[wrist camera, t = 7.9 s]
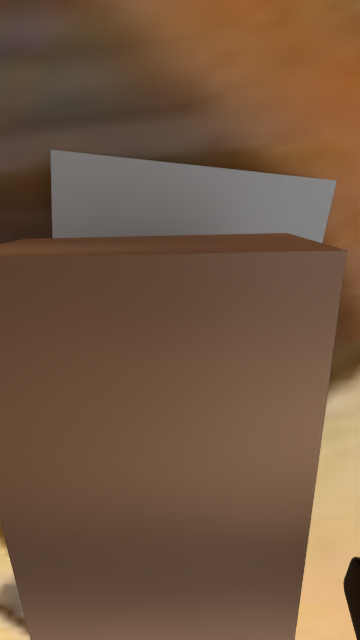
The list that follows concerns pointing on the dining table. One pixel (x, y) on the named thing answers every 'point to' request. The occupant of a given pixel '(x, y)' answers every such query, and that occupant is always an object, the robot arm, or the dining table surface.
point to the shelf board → (163, 430)
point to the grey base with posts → (180, 199)
